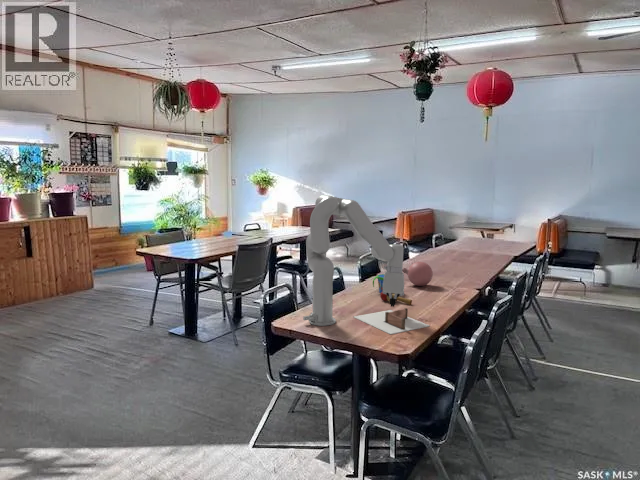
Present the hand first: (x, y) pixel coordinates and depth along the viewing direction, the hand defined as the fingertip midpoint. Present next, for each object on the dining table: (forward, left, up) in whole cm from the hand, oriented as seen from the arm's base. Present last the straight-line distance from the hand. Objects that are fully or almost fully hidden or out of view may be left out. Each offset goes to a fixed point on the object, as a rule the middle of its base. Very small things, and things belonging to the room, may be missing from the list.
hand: (392, 306), depth 233 cm
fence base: (-9, -13, -5) cm, 16 cm away
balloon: (+54, +44, -6) cm, 70 cm away
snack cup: (+26, +39, -6) cm, 48 cm away
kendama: (+18, +20, -6) cm, 27 cm away
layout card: (-6, -6, -5) cm, 10 cm away
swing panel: (-2, -7, -5) cm, 8 cm away
